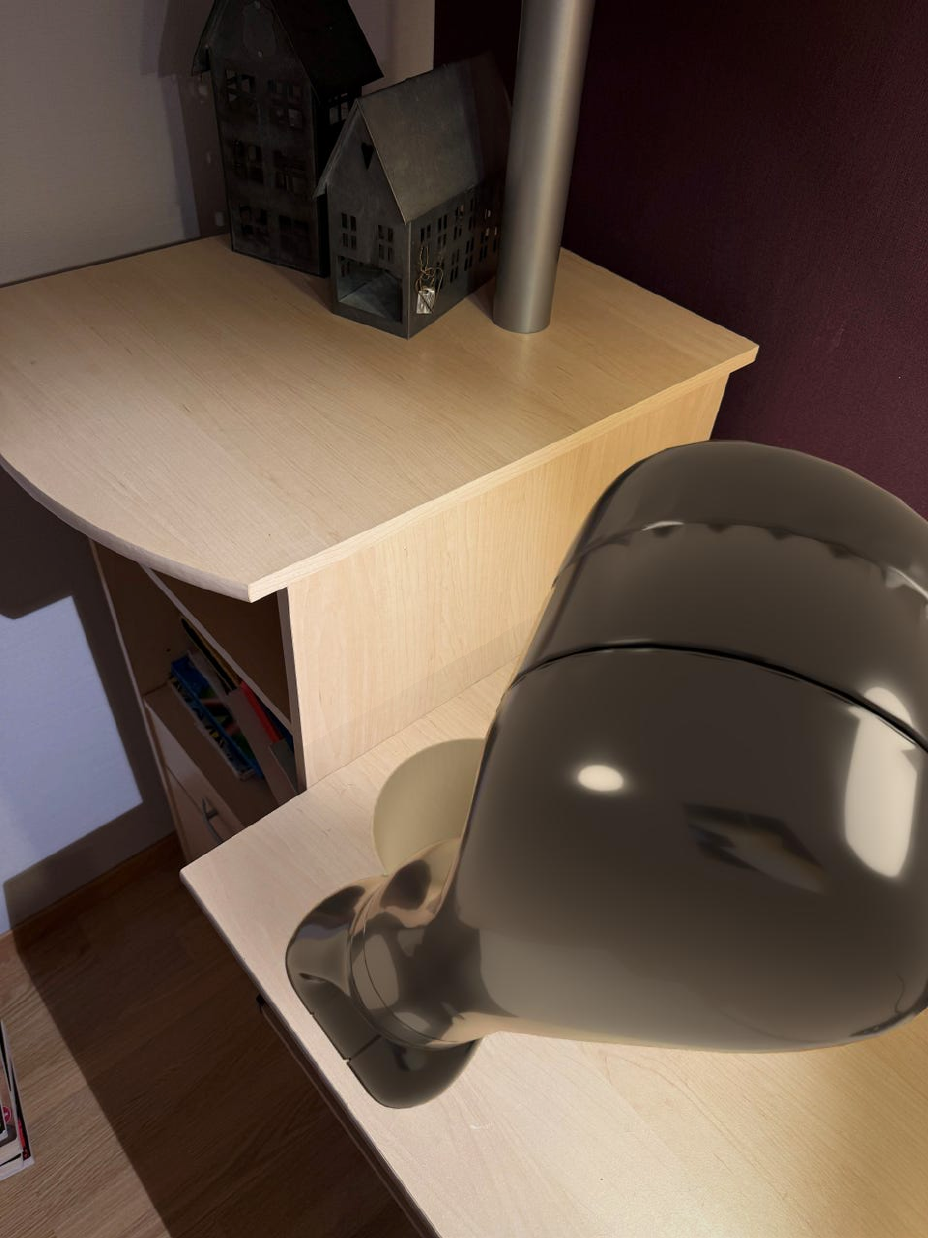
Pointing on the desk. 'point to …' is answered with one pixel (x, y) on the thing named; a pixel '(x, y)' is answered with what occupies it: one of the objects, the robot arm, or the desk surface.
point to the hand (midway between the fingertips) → (745, 665)
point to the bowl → (424, 800)
